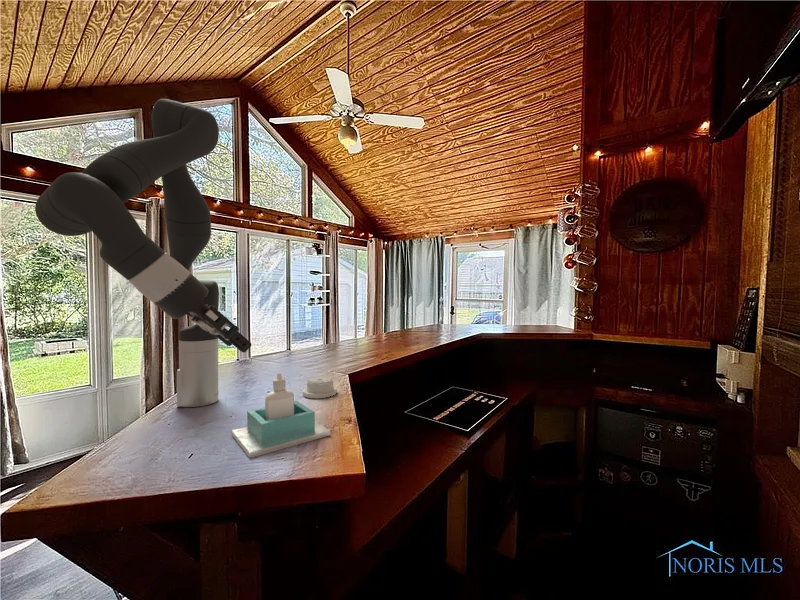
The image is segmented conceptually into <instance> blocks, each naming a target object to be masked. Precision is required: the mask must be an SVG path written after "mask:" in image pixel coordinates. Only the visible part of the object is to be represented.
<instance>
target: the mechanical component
mask: <svg viewBox="0 0 800 600" xmlns="http://www.w3.org/2000/svg"><path fill="white" fill-rule="evenodd" d="M336 393H337V394H338V388H337V387H336V386H334V380H333V379H332V378H329V377H314V378H309V379H307V381H306V388H304V389H303V390H302V396H303V397H305V398H308V399H327V398H331V397H334V396H336V395H337V394H336ZM335 394H336V395H335ZM333 395H334V396H333ZM330 396H331V397H330ZM326 397H327V398H326Z"/></svg>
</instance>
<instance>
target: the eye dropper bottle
mask: <svg viewBox="0 0 800 600" xmlns="http://www.w3.org/2000/svg"><path fill="white" fill-rule="evenodd" d="M272 383H273V384H272V386H273V387H272V391H270V392H268V393H267V394H266V395H265V398H264V408H265V421H268V420H272V419H277V418H281V417H286V416H290V415H294V402H295V395H294V392H293V391H292V390H290V389H286V378H283V376H282V372H277V374H276V377H275V379H273V380H272Z"/></svg>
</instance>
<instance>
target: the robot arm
mask: <svg viewBox="0 0 800 600" xmlns="http://www.w3.org/2000/svg"><path fill="white" fill-rule="evenodd" d="M151 111H152V113H151V127H152V134H153V137H152V138H146V139H139V140H134V141H129V142H125V143H123V144H120V145H118V146H115V147H114V148H112V149H110V150H109V151H107V152H105V153H104V154H102V155H100V156H98V157H97V158H95V159H93V160H92V161H91V162H90V163H89V164H88V165H87V166H86V167H85V168H84V169H83V170H82V171H81V172H78V171H77V172H75V171H73V172H66V173H63V174H61V175H59V176H58V177H57V178H56V179H54V181H52V183H51V184H50V185H49V186H48V187H46V189H45V190H44V191H42V193H41V194H40V195H39V196H38V198H37V200H36V201H35V205H34V210H35V211H34V212H35V216H36V217H37V219H38V221H39V223H40V224H41V225H42V226H43V227H45V228H46V229H47V230H49V231H50V232H53V233H55V234H58V235H62V236H68V237H78V236H82V235H86V234H88V233H90V232H92V233H93V234H94V235H95V236H96V238H97V240H99V241H100V244H101V247H100V249H99V255H100V258H101V259H102V260H103V261H104V262H105V263H106V264H107V265H108V266H109V267H110V268H112V269H113V270H114V271H116V272H117V273H118V274H119V275H121V276H122V277H123V278H125V279H126V280H127V281H128V282H129V283H131V285H132V286H133V287H134V288H135V289H136V290H137V291H138V292H139V293H140V294H141V295H142V296H144V297H145V298H146V299H147V300H149V301H150V302H152V304H154V305H155V306H156V307H158V308H159V309H160V310H162V311H163V312H164V313H165V314H166V315H168V316H169V317H170V318H171V319H173V320H179V319H181V318H183V317H184V316H185V317H186V316H189V318H191V319H190V320H191V322H192V323H194V324H193V325H190V326H187V327H184V328H181V329H179V332H178V369H177V370H176V407H183V408H196V407H197V408H198V407H204V406H209V405H211V404H214V403H216V402H218V401H219V392H220V391H219V341H221V342H222V343H223V344H224V345H226V346H228V347H231V346H232V345H233V346H234V347H235V348H236V349H238V351H240V352H241V353H246V352H247V351H248V350H249V349H250V348H251V347H252V345H253V344H252V342H251V341H249V340H248V339H247V337H245V336H244V335H243V334H242V333H241V332H239V330H240V328H239V326H237V325H235V323H233V322H232V321H231V320H229V318H228V317H227V316H225V315H224V314H223V313H222V312H220V311H219V305H220V304H219V303H220V288H219V285H218V283H217V281H215V280H207V279H206V280H205V279H204V280H203V279H201V280H200V279H197V277H196V276H195V275H194V274H192V273H191V272H190V271H189V270H190V269H191V267H192V265H193V263H194V262H195V260H196V259H197V257H199V256H200V254H201V253H202V252H203V251H204V249H205V248H206V247H207V245H208V244H209V241H210V240H211V237H212V217H211V210H210V207H209V205H208V203H207V201H206V199H205V197H204V195H203V194H202V193H201V191H200V190H199V188H198V187H197V185H196V183H195V182H194V180H193V179H192V177H191V175H190V173H189V170H188V166H187V164H189V163H192V162H194V161H196V160H198V159H201V158H203V157H205V156H207V155H209V154H210V153H211V152H213V151H214V149H215V148H216V147H217V145H218V142H219V137H220V131H219V130H220V128H219V125H218V122H217V119H216V117H215V116H214V115H213V114H212V113H211V112H210V111H208V110H207V109H204V108H202V107H199V106H196V105H191V104H188V103H183V102H180V101H177V100H172V99H168V98H160V99H158V100H157V101H156V102H155V104H153V108H152V110H151ZM160 178H161V182H162V189H163V190H162V191H163V201H164V202H163V203H164V217H165V224H166V234H167V235H166V236H167V240H168V249H169V254H168V253H167V252H166V251H164V249H163V248H161V247H160V245H159V244H157V243H156V242H155V241H154V240H153V239H151V238H150V237H149V236H148V235H147V234H146V233H144V230H143V229H142V228H141V227H140V225H139V223H138V221H137V220H136V219H135V217H134V216H133V214H132V213H131V212H130V210H129V209H128V208H127V206H126V205H125V203H127V202H129V201H130V200H132V199H133V198H135V197H136V196H138V195H139V194H141V193H142V192H143V191H144V190H145V189H147V188H148V187H150V186H151V185H152V184H153V183H155V182H156V181H158V180H159V179H160ZM226 327H228V328H229V329H227V328H226Z"/></svg>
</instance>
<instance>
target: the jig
mask: <svg viewBox="0 0 800 600" xmlns="http://www.w3.org/2000/svg"><path fill="white" fill-rule="evenodd" d="M246 413H247V415H246V417H247V418H246V419H247V420H246V423H247V425H246V426H245V427H239V428H235V429H231V436H232V437H233V438H234V440H235V441H236V442H237V443H238V445H239V446H240V448H241V449H242V450H243V452H244V453H245V454H246V455H247V457H248V458H249V459H252V458H257V457H258V456H259V457H260V456H263V455H265V454H266V455H267V454H269V453H273V452H276V451H280V450H283V449H287V448H290V447H295V446H298V445H301V444H304V443H307V442H311V441H314V440H315V441H316V440H318V439H322V438H326V437H330V436H331V430H330V429H328V428H326V427H325V426H323V425H322V424H321V423H320V422H317V421H316V417H315V416H316V415H315V414H316V412H315V411H314V410H313V409H311V408H309V407H307V406H306V405H304V404H303V403H301V402H299V401H298V400H294V415H290V416H286V417H281V418H277V419H272V420H268V421H265V407H262V408H256V409H251V410H250V409H249V410H247V411H246Z"/></svg>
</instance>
